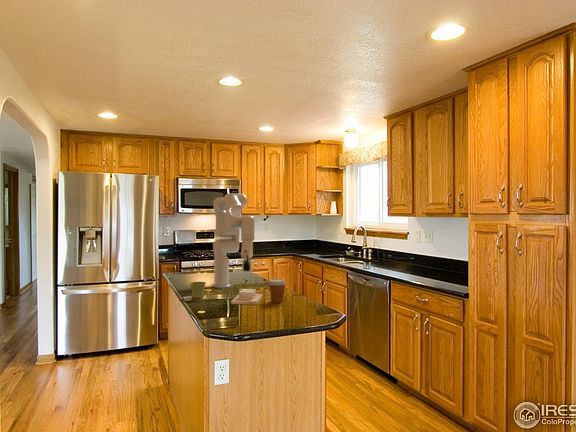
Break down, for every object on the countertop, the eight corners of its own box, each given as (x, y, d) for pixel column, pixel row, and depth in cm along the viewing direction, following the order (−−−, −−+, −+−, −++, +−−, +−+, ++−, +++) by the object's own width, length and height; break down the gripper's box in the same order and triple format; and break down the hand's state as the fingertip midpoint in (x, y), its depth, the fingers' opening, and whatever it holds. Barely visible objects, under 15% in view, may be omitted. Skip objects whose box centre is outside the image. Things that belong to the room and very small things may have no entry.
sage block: (244, 270, 233) (244, 259, 232) (252, 270, 232) (252, 260, 232) (242, 271, 228) (242, 260, 228) (251, 271, 227) (251, 261, 227)
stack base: (239, 296, 241) (239, 287, 241) (262, 296, 239) (262, 287, 239) (231, 303, 221) (231, 293, 221) (256, 304, 219) (256, 294, 219)
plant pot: (186, 298, 233) (186, 283, 233) (195, 295, 242) (195, 281, 242) (200, 300, 230) (200, 284, 230) (209, 296, 239) (209, 282, 239)
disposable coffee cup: (265, 300, 229) (265, 279, 229) (280, 299, 234) (281, 278, 234) (273, 304, 221) (273, 282, 221) (288, 302, 225) (288, 280, 225)
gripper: (244, 236, 238) (244, 267, 239) (237, 238, 222) (237, 272, 222) (256, 237, 238) (256, 268, 238) (251, 238, 221) (251, 272, 221)
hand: (247, 269), depth 230 cm, fingers closed on sage block, 5 cm apart
